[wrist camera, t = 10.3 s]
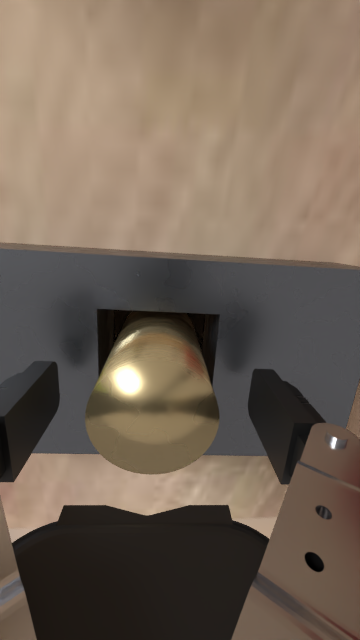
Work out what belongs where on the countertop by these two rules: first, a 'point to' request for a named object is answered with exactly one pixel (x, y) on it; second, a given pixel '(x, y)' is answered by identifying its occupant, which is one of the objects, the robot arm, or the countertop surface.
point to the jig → (184, 297)
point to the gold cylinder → (153, 396)
